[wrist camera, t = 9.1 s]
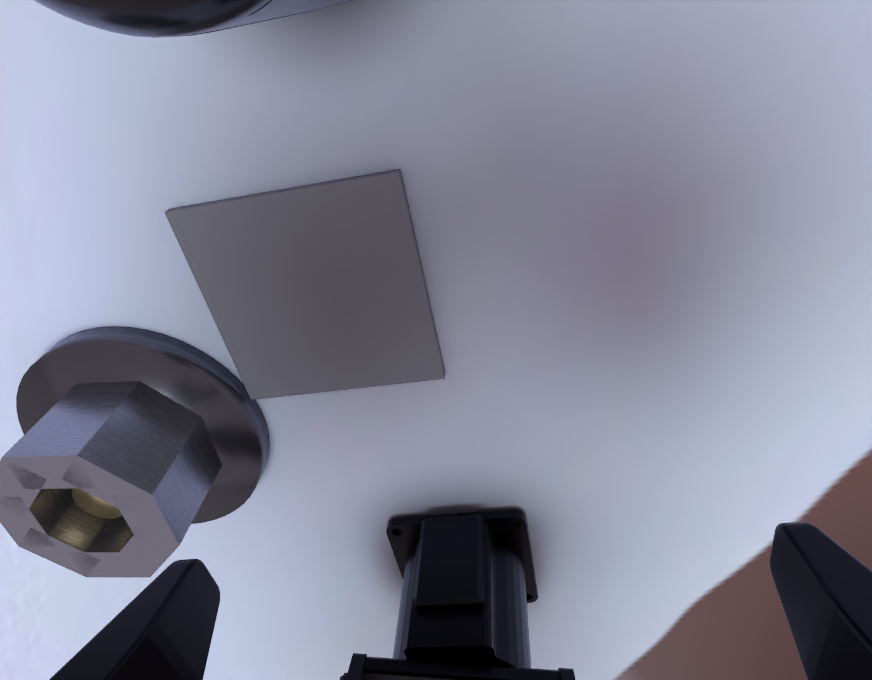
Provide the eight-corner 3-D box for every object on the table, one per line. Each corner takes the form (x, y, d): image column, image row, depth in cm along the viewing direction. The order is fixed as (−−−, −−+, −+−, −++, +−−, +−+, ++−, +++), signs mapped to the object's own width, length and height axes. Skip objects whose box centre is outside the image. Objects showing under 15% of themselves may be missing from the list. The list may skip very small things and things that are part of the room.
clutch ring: (243, 440, 23) (201, 520, 20) (177, 517, 26) (131, 597, 22) (93, 353, 21) (18, 425, 18) (40, 446, 24) (-33, 523, 21)
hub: (299, 495, 26) (270, 576, 23) (109, 510, 28) (54, 588, 24) (215, 311, 21) (161, 378, 17) (-13, 343, 23) (-105, 410, 19)
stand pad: (445, 373, 22) (444, 378, 22) (253, 395, 23) (251, 399, 23) (399, 169, 18) (398, 171, 17) (169, 209, 19) (164, 212, 19)
